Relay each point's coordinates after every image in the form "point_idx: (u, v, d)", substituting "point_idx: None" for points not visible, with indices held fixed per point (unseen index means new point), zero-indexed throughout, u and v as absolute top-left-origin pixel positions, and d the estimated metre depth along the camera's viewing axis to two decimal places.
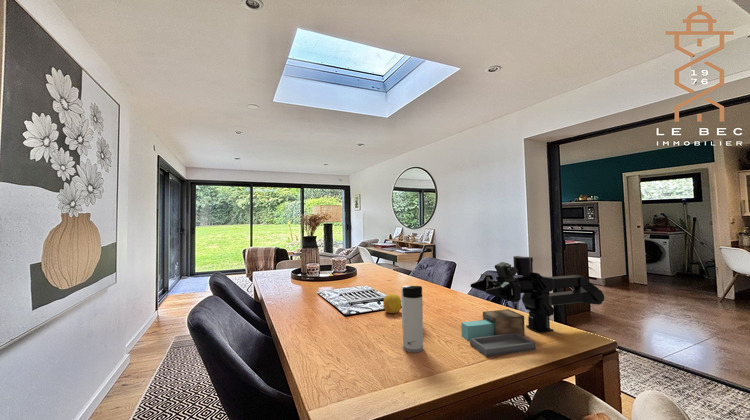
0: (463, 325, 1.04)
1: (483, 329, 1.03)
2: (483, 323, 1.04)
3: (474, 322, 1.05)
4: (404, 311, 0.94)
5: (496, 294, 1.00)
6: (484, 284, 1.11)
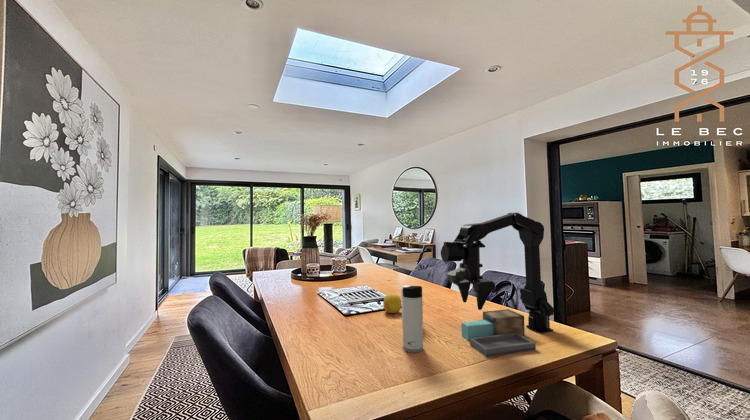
0: (463, 325, 1.04)
1: (483, 329, 1.03)
2: (483, 323, 1.04)
3: (474, 322, 1.05)
4: (404, 311, 0.94)
5: (484, 300, 0.99)
6: (463, 285, 1.09)
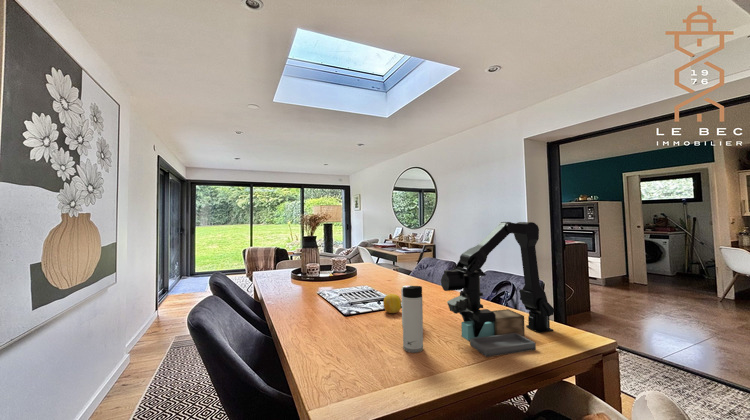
0: (463, 324, 1.04)
1: (483, 328, 1.03)
2: None
3: None
4: (404, 311, 0.94)
5: (480, 328, 1.01)
6: (467, 314, 1.07)
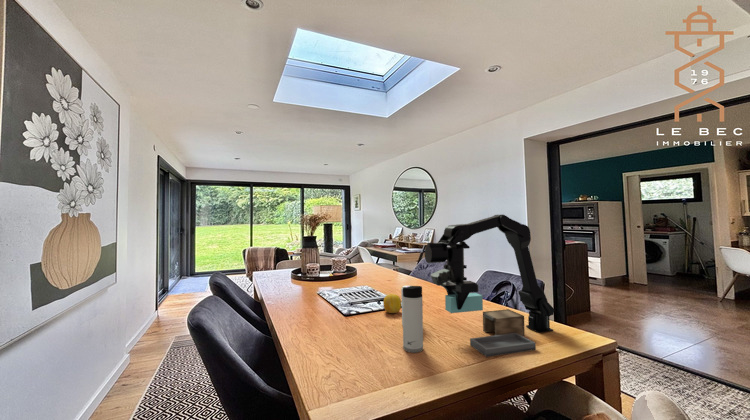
0: (447, 297, 1.02)
1: (467, 301, 1.01)
2: None
3: None
4: (404, 311, 0.94)
5: (463, 300, 1.00)
6: (452, 288, 1.05)
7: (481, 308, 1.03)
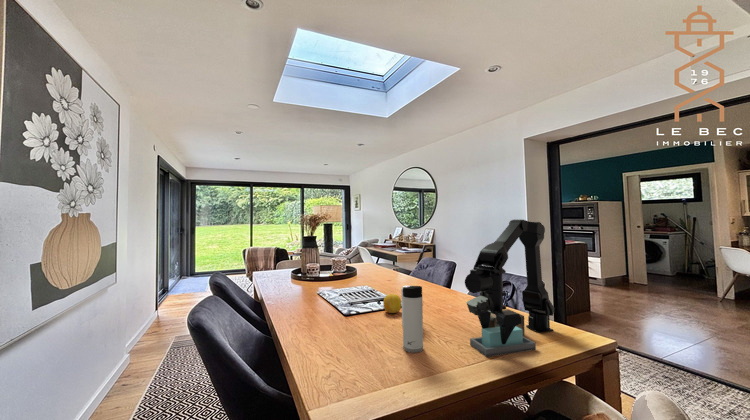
0: (484, 332, 0.95)
1: None
2: None
3: (496, 328, 0.96)
4: (404, 311, 0.94)
5: (508, 334, 0.90)
6: (484, 314, 1.00)
7: None
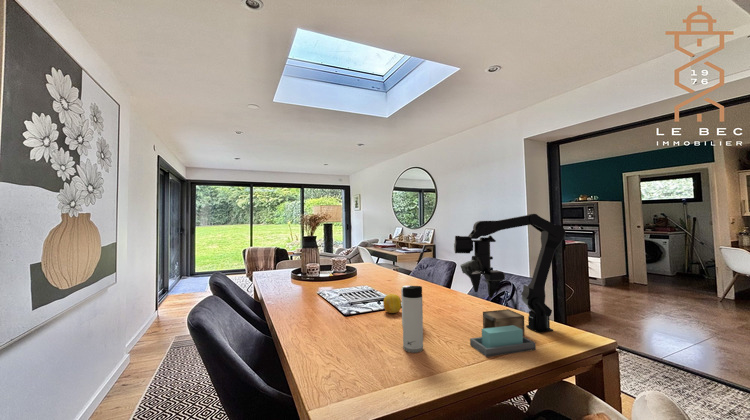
0: (484, 332, 0.95)
1: (506, 336, 0.94)
2: (506, 330, 0.95)
3: (496, 328, 0.96)
4: (404, 311, 0.94)
5: (494, 289, 1.09)
6: (475, 276, 1.19)
7: None
